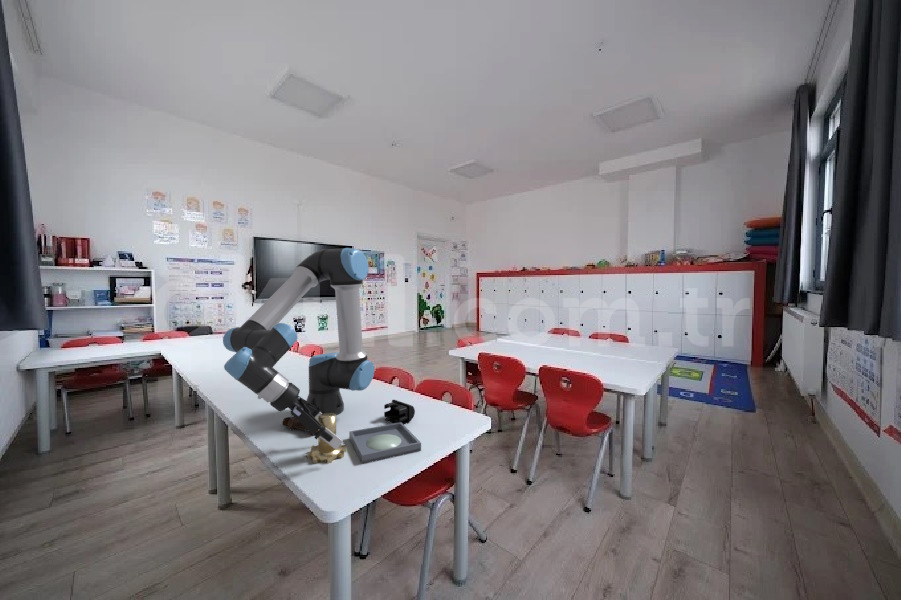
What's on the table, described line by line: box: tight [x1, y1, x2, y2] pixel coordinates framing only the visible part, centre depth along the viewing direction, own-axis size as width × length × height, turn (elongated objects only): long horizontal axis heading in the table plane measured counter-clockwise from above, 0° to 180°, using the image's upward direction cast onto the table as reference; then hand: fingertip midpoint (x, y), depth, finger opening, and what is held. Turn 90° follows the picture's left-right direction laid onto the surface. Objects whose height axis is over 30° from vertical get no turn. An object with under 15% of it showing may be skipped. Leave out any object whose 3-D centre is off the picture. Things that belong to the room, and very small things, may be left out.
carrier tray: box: [348, 422, 422, 465], centre depth 106 cm, size 18×18×2 cm
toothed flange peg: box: [306, 413, 347, 464], centre depth 99 cm, size 11×11×12 cm
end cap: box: [383, 399, 416, 426], centre depth 126 cm, size 10×7×7 cm
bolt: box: [281, 416, 318, 437], centre depth 116 cm, size 6×5×15 cm
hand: (335, 435), depth 100 cm, fingers open, 13 cm apart
